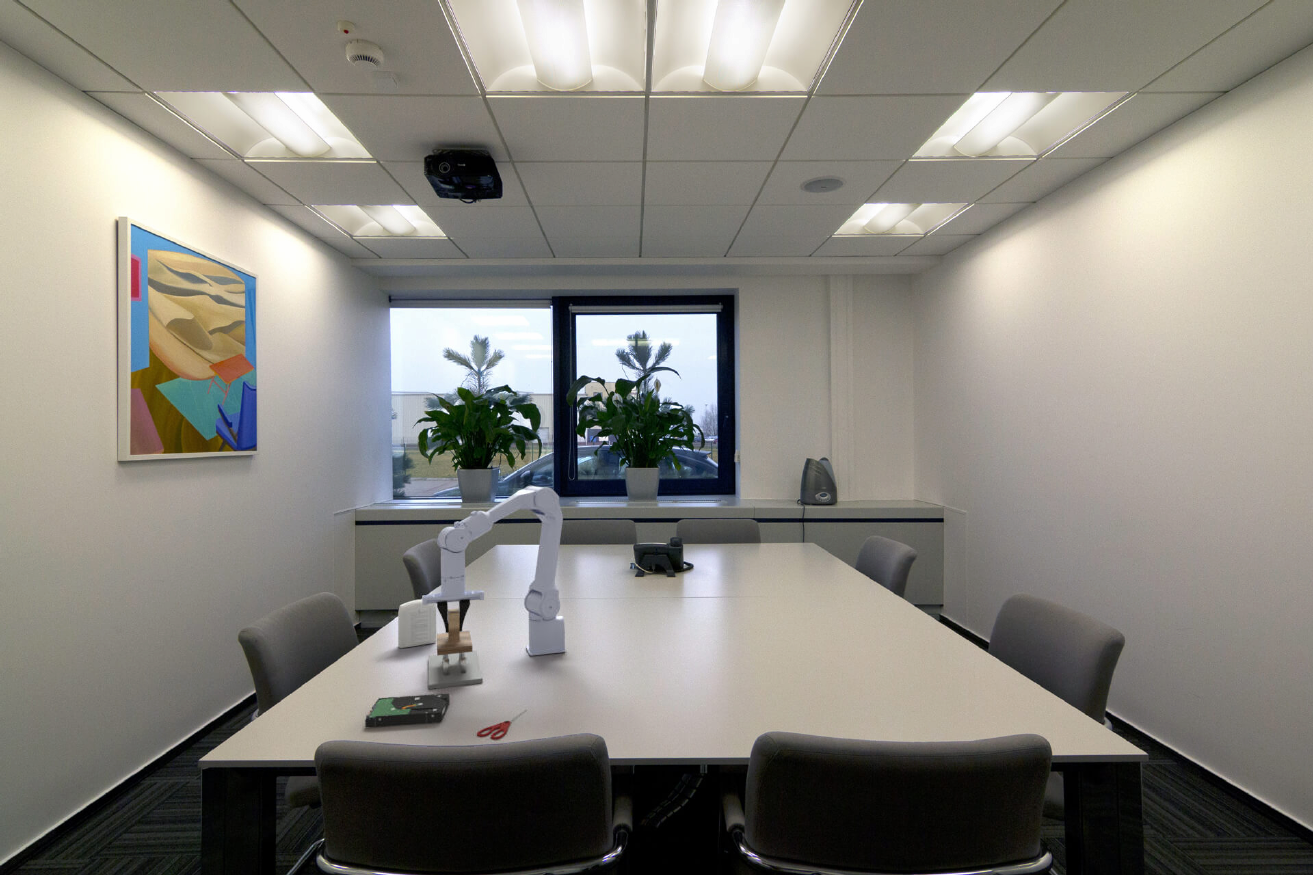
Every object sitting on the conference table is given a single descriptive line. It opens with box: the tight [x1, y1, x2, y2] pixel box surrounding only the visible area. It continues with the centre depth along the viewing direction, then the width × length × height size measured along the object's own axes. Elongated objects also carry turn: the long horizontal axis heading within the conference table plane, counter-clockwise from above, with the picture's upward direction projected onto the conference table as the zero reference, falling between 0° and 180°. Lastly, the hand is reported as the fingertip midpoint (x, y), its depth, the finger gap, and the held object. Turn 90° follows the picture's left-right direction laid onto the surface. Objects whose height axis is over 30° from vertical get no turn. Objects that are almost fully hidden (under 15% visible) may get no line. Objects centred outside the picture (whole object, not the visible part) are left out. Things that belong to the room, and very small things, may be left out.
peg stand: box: [428, 650, 484, 690], centre depth 166 cm, size 12×22×4 cm, turn 19°
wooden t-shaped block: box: [436, 607, 474, 656], centre depth 166 cm, size 14×8×8 cm, turn 19°
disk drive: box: [364, 693, 451, 728], centre depth 139 cm, size 10×3×15 cm
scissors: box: [476, 709, 528, 741], centre depth 135 cm, size 5×14×1 cm, turn 158°
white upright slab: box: [397, 599, 437, 649], centre depth 188 cm, size 10×4×12 cm, turn 123°
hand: (453, 631), depth 166 cm, fingers closed on wooden t-shaped block, 2 cm apart
